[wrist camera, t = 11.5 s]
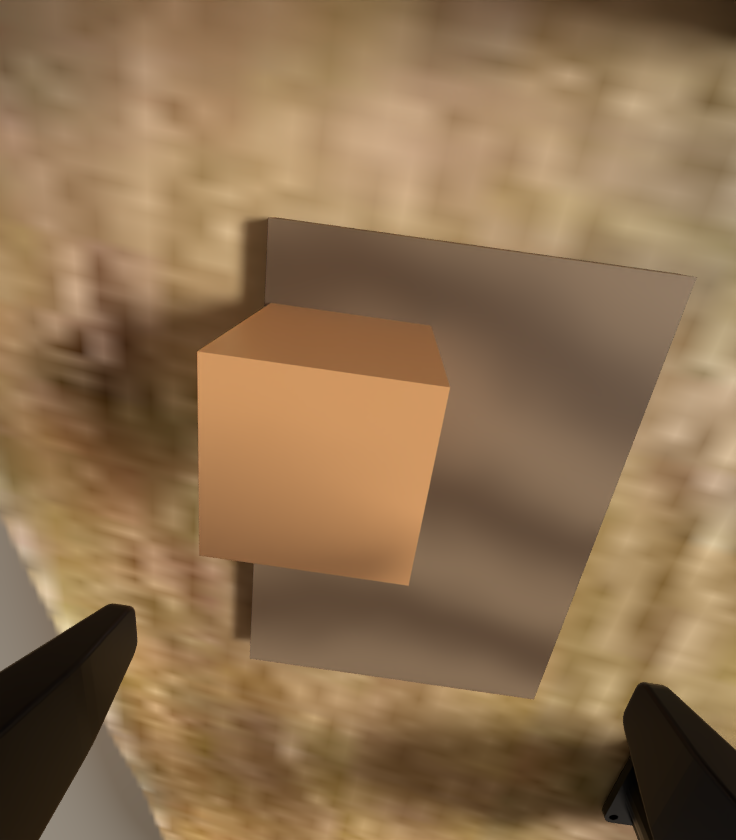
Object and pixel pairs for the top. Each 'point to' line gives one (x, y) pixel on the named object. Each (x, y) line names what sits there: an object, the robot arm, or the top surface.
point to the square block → (318, 441)
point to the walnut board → (478, 450)
